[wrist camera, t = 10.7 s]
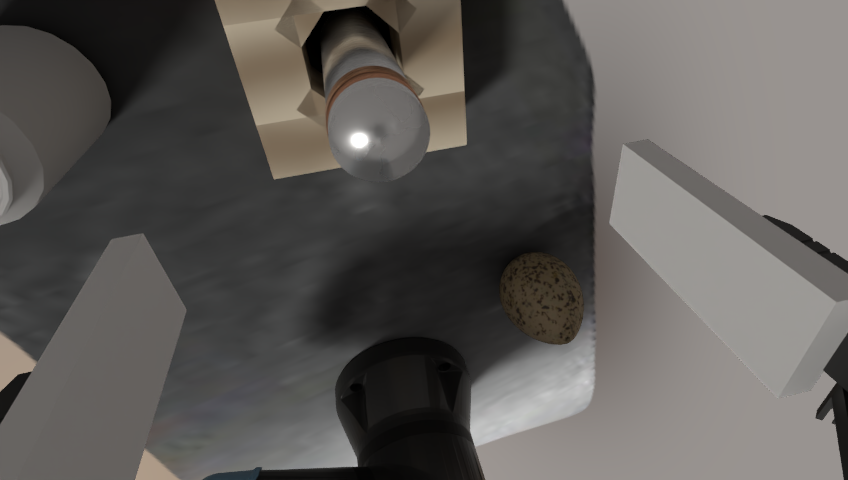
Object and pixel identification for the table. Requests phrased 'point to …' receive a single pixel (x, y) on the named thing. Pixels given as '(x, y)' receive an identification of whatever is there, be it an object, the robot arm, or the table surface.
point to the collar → (304, 86)
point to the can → (43, 114)
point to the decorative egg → (542, 297)
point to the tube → (369, 101)
